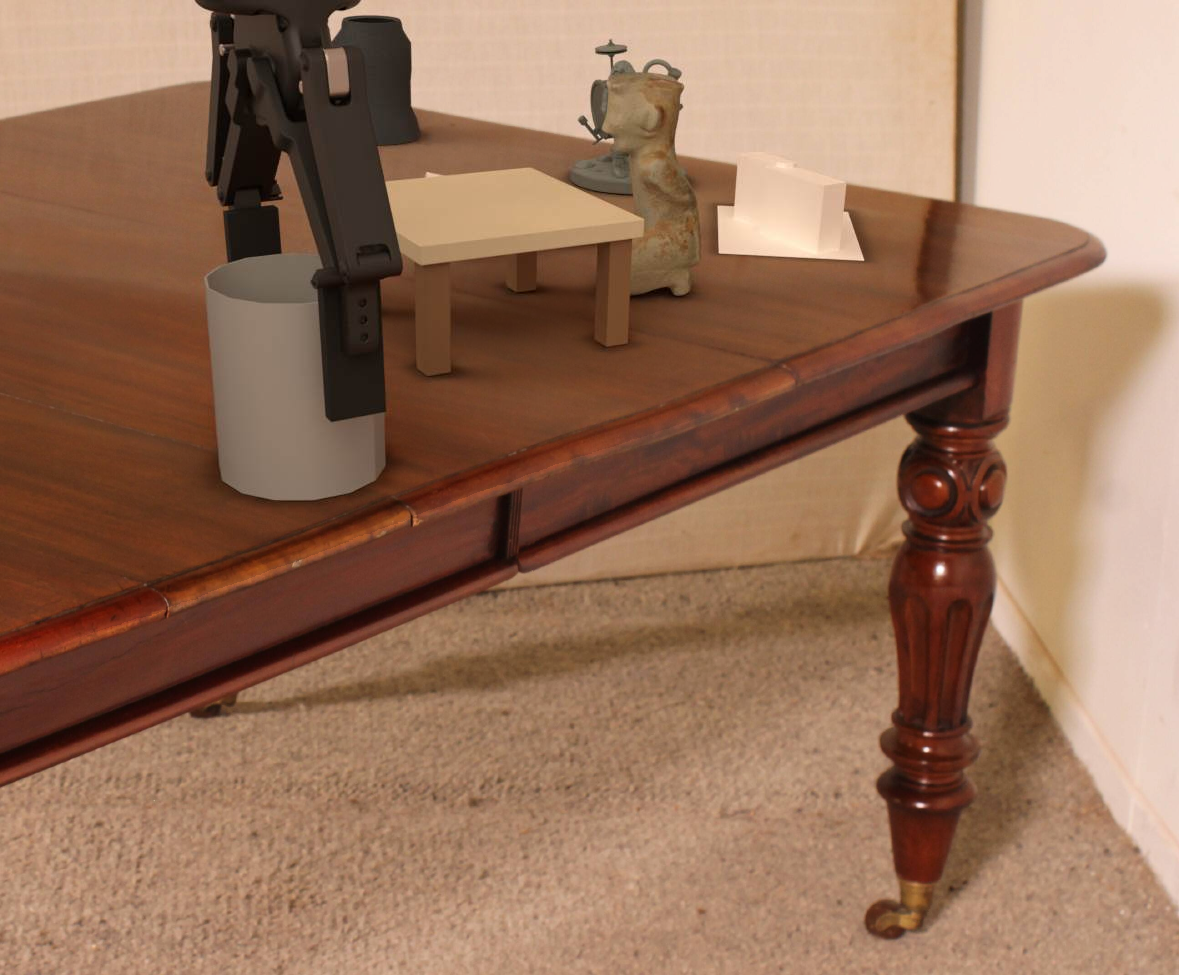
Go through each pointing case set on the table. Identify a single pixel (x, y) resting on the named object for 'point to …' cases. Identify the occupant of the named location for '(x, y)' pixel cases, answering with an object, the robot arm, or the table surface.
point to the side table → (506, 244)
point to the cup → (280, 386)
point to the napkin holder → (786, 212)
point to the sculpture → (655, 180)
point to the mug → (384, 74)
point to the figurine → (609, 169)
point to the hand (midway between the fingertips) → (304, 369)
